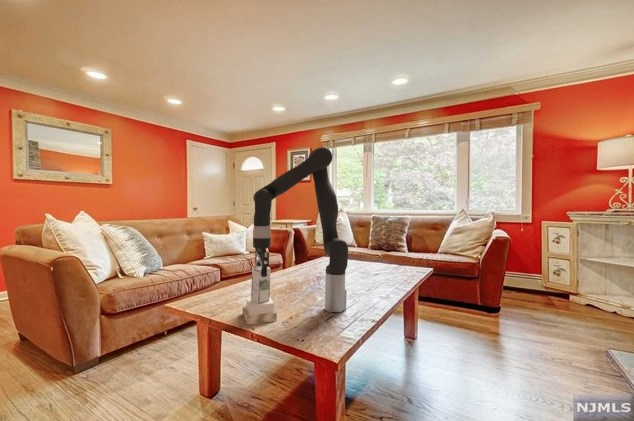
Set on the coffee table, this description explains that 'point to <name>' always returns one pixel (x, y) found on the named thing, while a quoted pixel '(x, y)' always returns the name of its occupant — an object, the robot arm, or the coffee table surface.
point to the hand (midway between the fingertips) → (261, 274)
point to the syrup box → (260, 285)
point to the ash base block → (258, 317)
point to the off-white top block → (259, 307)
